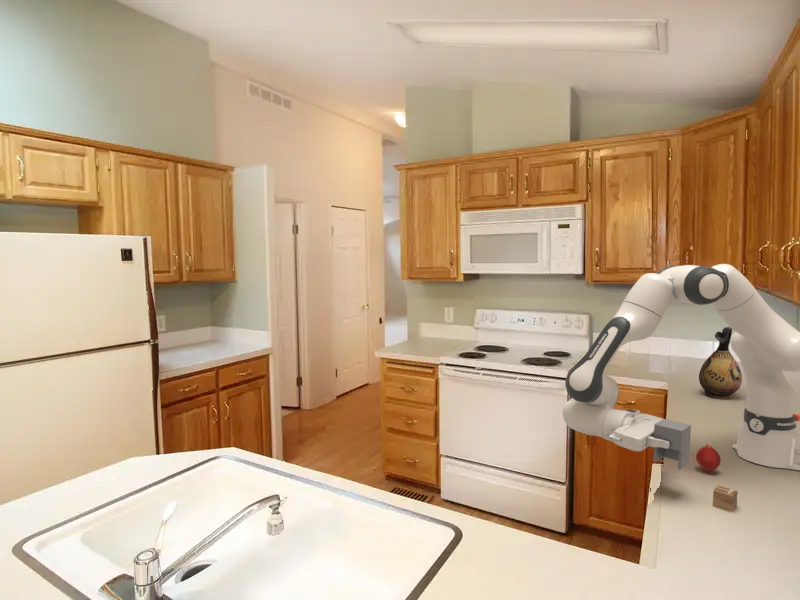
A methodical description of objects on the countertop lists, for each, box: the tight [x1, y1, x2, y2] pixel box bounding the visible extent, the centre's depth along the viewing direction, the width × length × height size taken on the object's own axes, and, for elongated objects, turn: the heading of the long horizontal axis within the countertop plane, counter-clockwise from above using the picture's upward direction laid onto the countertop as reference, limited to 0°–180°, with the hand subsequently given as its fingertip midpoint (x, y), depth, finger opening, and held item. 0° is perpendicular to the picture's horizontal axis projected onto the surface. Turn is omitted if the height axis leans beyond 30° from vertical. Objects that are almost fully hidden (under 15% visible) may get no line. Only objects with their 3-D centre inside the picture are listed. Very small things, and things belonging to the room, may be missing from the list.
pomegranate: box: [695, 443, 721, 473], centre depth 137 cm, size 6×6×8 cm
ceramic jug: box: [698, 326, 743, 400], centre depth 208 cm, size 17×15×30 cm
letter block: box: [712, 484, 739, 513], centre depth 118 cm, size 4×4×4 cm
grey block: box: [653, 418, 692, 470], centre depth 124 cm, size 6×6×10 cm
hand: (675, 440), depth 123 cm, fingers closed on grey block, 6 cm apart
